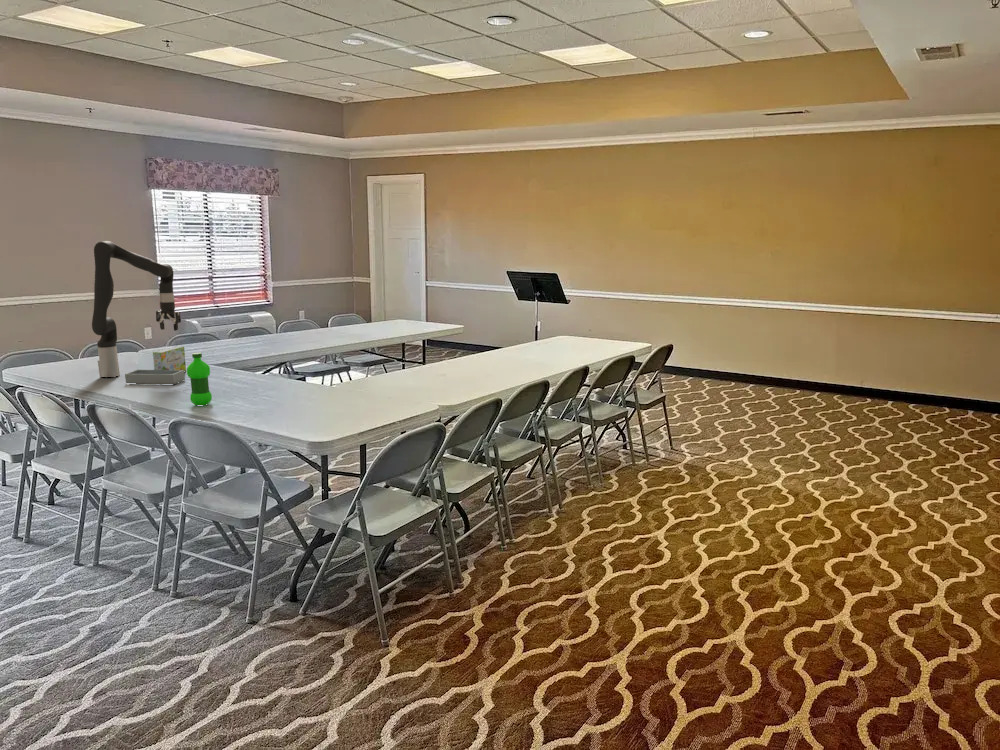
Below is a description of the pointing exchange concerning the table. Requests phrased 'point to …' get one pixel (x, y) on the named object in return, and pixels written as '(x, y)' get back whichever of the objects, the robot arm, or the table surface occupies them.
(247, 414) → the table surface
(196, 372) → the plastic bottle
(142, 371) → the bin
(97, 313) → the robot arm
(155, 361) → the snack box
